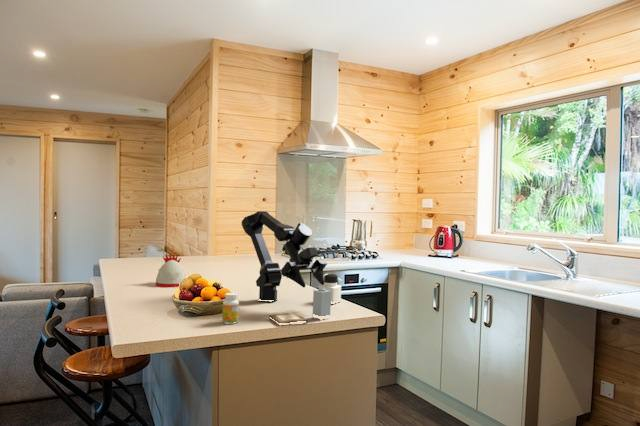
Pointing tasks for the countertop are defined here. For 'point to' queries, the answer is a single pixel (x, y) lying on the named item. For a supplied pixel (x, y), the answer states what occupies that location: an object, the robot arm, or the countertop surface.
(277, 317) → the pedestal
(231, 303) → the supplement bottle
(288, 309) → the countertop surface
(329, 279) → the medicine bottle
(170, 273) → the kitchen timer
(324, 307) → the pillar
